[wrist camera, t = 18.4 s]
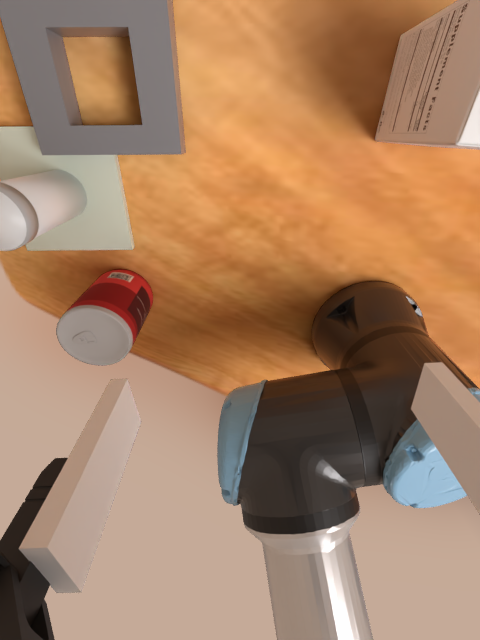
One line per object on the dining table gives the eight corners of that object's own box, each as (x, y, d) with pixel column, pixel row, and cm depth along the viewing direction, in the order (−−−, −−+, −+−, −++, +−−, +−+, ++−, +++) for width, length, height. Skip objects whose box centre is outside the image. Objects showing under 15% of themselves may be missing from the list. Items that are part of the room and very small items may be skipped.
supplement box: (493, 39, 29) (698, -35, 16) (452, 148, 33) (585, 158, 21) (399, 30, 28) (532, -54, 16) (371, 141, 33) (455, 147, 20)
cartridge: (93, 217, 36) (35, 251, 26) (48, 218, 36) (-27, 251, 26) (80, 168, 33) (11, 184, 23) (32, 168, 33) (-59, 184, 23)
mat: (134, 247, 39) (132, 249, 38) (32, 248, 39) (27, 250, 38) (111, 125, 32) (108, 125, 31) (-13, 126, 32) (-20, 126, 31)
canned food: (83, 283, 41) (39, 327, 32) (130, 256, 39) (97, 295, 30) (121, 325, 45) (90, 376, 36) (165, 302, 43) (145, 349, 34)
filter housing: (185, 152, 33) (181, 154, 31) (57, 153, 33) (42, 155, 31) (155, -198, 22) (144, -241, 19) (-42, -197, 22) (-78, -241, 19)
